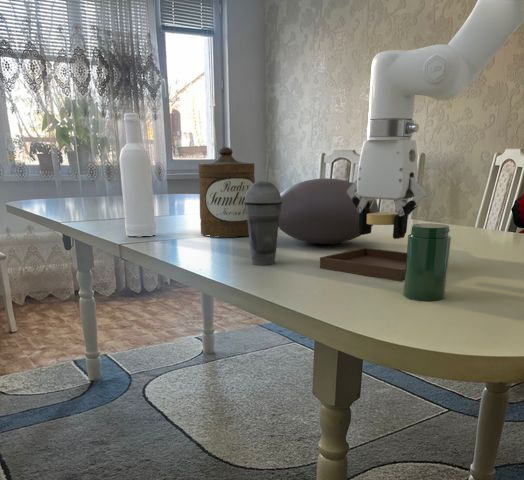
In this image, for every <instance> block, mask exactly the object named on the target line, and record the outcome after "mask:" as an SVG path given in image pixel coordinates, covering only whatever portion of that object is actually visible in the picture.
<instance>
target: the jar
mask: <svg viewBox="0 0 524 480" xmlns="http://www.w3.org/2000/svg"><path fill="white" fill-rule="evenodd" d="M450 231H451V229H450V225H448V224H443V223H431V222H430V223H428V222H427V223H425V222H424V223H423V222H422V223H413V224H411V232H410V234H408V236H407V245H406V247H407V248H406V253H407V257H406V269H405V280H403V281H404V282H403V295H402V296H403V297H405V298H407V299H410V300H414V301H422V302H435V301H442V300H443V299H445V295H446V286H447V278H448V277H447V276H448V268H449V261H450V260H449V258H450V250H451V241H452V236H451V235H449V234H450Z"/></svg>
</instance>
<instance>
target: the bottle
mask: <svg viewBox="0 0 524 480" xmlns="http://www.w3.org/2000/svg"><path fill="white" fill-rule="evenodd" d="M140 119H141V118H140V114H139V113H135V112H126V113H124V114H123V122H124V130H125V142H126V144H125V145H124V146H123V147H122V148H121V149H120V154H119V171H120V180H121V181H120V182H121V192H122V202H123V203H122V204H123V212H124V213H123V214H124V215H123V216H124V230H125V235H129V236H149V235H154V234H156V235H157V232H156V230H157V227H156V226H157V225H156V218H155V204H154V203H155V201H154V190H153V177H152V176H153V174H152V161H151V156H150V154H149V151H148V149H147V148H146V147H145V146H144V145H143V144H142V139H141V126H140V122H141V120H140Z"/></svg>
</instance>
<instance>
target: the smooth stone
mask: <svg viewBox="0 0 524 480" xmlns="http://www.w3.org/2000/svg"><path fill="white" fill-rule="evenodd" d="M353 183H354V182H351V181H349V180H345V179H338V178H313V179H308V180H304V181H301V182H298V183H295V184H293V185H291V186H289V187H287V188H286V189H284V191H282V192H280V196H281V202H282V204H281V210H280V214H279V222H278V229H280V230H281V232H283V233H284V234H286V235H287V236H288V237H291V238H293V239H295V240H297V241H301V242H304V243H308V244H314V245H315V244H316V245H333V244H340V243H345V242H348V241H352V240H355V239H356V238H359V237H361V236H362V235H360V234H359V215H360V213H359V212H357V208H356V206H355V205H354V203H353V202H352V199H351V198H350V197H349V195H348V194H347V190H348V188H349V187H350V186H351V185H352V184H353ZM370 212H372V213H379V212H380V211H379V204H378V202H377V199H375V200H374V202H373V204H372V207H371V209H370ZM373 226H374V225H372V227H373Z"/></svg>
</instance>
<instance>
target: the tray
mask: <svg viewBox="0 0 524 480" xmlns="http://www.w3.org/2000/svg"><path fill="white" fill-rule="evenodd" d="M406 257H407V252H404V251H398V250H396V251H395V250H388V249H380V248H371V247H364V246H363V247H361V248H355V249H352V250H346V251H342V252H338V253H334V254H330V255H326V256H321V257H319V269H325V270H331V271H335V272H342V273H348V274H353V275H360V276H367V277H373V278H377V279H378V278H379V279H386V280H391V281H397V282H403V281H405V269H406Z"/></svg>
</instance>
